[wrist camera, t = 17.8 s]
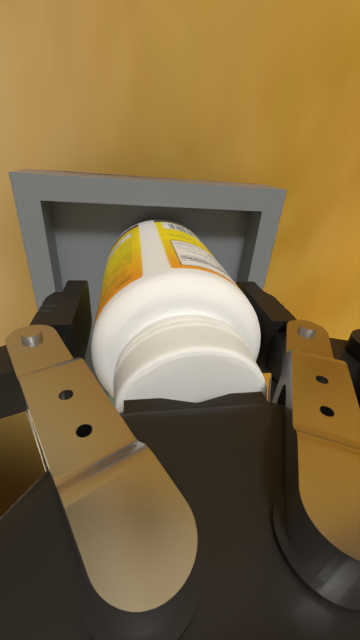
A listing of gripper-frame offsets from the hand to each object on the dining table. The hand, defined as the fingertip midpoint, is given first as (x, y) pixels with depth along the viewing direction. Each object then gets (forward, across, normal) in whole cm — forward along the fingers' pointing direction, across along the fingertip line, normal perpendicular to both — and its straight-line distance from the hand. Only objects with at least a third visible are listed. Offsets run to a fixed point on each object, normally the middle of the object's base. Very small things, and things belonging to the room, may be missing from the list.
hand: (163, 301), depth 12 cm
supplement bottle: (+4, 0, 0) cm, 4 cm away
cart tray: (+7, 0, +4) cm, 8 cm away
